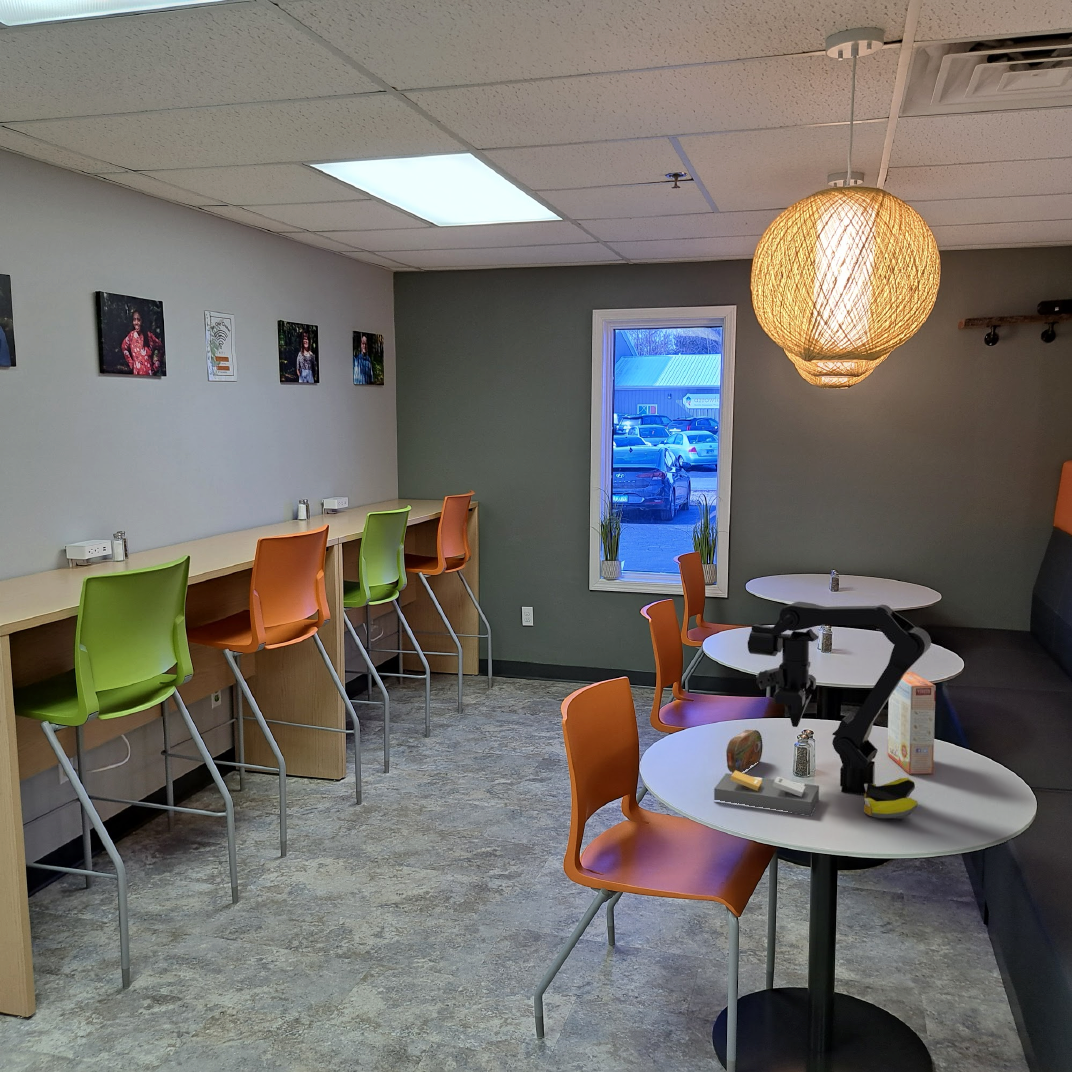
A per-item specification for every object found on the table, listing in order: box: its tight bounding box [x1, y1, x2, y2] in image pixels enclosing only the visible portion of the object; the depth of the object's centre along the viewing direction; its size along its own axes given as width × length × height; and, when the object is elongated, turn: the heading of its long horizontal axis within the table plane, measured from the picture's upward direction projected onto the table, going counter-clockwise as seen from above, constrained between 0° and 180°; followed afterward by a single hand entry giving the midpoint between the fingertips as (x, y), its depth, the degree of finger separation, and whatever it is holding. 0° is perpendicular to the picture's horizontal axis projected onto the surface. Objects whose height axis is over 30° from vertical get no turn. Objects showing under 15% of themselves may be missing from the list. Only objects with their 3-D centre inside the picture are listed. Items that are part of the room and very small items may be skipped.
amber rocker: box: [730, 770, 762, 791], centre depth 199 cm, size 6×4×1 cm, turn 64°
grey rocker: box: [773, 775, 805, 797], centre depth 195 cm, size 6×4×1 cm, turn 64°
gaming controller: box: [863, 777, 918, 820], centre depth 192 cm, size 15×6×10 cm
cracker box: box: [887, 670, 936, 775], centre depth 218 cm, size 14×6×21 cm, turn 179°
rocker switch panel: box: [713, 773, 820, 817], centre depth 199 cm, size 20×10×4 cm, turn 64°
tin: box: [726, 729, 764, 774], centre depth 218 cm, size 15×3×8 cm, turn 143°
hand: (795, 726), depth 211 cm, fingers closed
